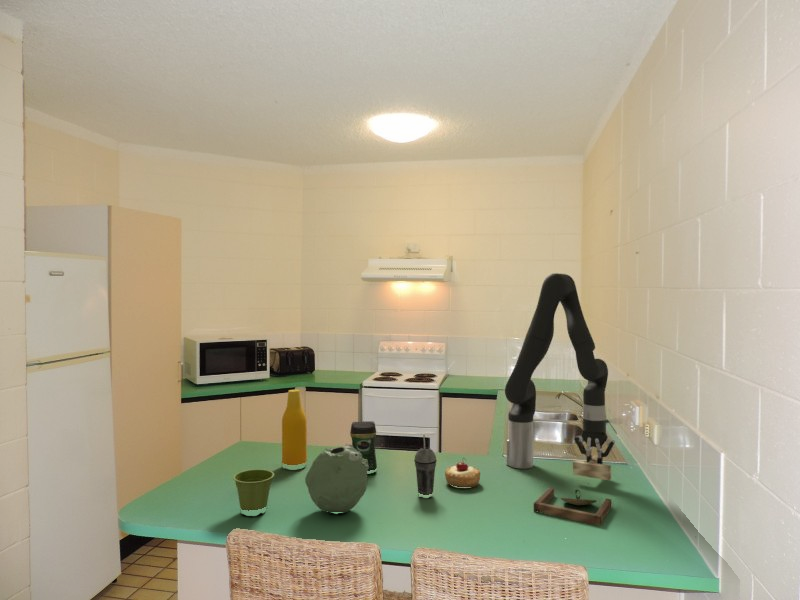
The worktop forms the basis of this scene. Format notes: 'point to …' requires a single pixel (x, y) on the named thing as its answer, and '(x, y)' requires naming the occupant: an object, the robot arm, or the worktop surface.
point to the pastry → (462, 475)
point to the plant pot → (253, 488)
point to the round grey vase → (337, 478)
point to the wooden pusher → (592, 469)
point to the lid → (578, 500)
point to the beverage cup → (425, 469)
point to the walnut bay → (571, 510)
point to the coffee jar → (365, 441)
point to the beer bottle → (294, 431)
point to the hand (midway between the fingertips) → (594, 467)
